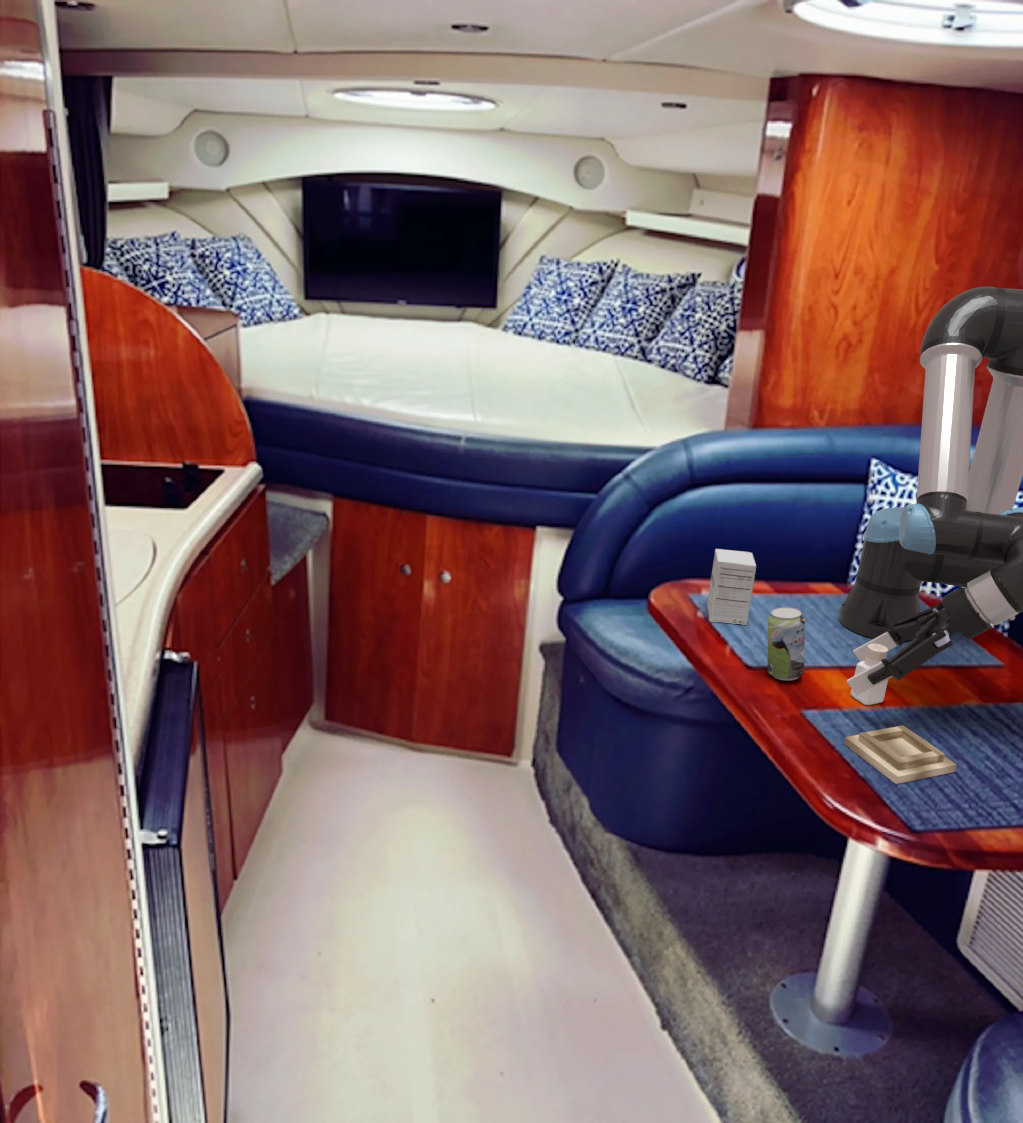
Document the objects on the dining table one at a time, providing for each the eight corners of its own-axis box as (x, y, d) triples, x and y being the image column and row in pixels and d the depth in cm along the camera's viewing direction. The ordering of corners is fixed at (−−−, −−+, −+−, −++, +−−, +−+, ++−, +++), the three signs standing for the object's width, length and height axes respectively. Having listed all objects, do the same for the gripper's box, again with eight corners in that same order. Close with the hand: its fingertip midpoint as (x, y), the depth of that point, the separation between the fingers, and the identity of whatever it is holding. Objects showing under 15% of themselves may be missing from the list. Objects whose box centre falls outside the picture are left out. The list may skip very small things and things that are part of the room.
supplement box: (705, 607, 192) (714, 547, 187) (743, 611, 191) (753, 551, 186) (707, 622, 185) (717, 560, 180) (747, 626, 184) (757, 565, 179)
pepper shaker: (865, 707, 157) (877, 654, 153) (848, 695, 160) (859, 643, 157) (884, 703, 158) (896, 651, 155) (866, 692, 162) (878, 640, 158)
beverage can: (804, 687, 162) (816, 622, 158) (759, 680, 163) (770, 615, 159) (801, 670, 168) (813, 607, 163) (758, 664, 169) (769, 601, 165)
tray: (900, 733, 149) (903, 720, 148) (955, 771, 140) (958, 757, 139) (843, 743, 145) (846, 730, 144) (896, 784, 136) (899, 769, 135)
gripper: (996, 655, 137) (863, 722, 148) (989, 599, 158) (873, 661, 169) (965, 613, 137) (834, 683, 148) (962, 562, 158) (847, 627, 169)
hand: (854, 672), depth 159 cm, fingers open, 12 cm apart
